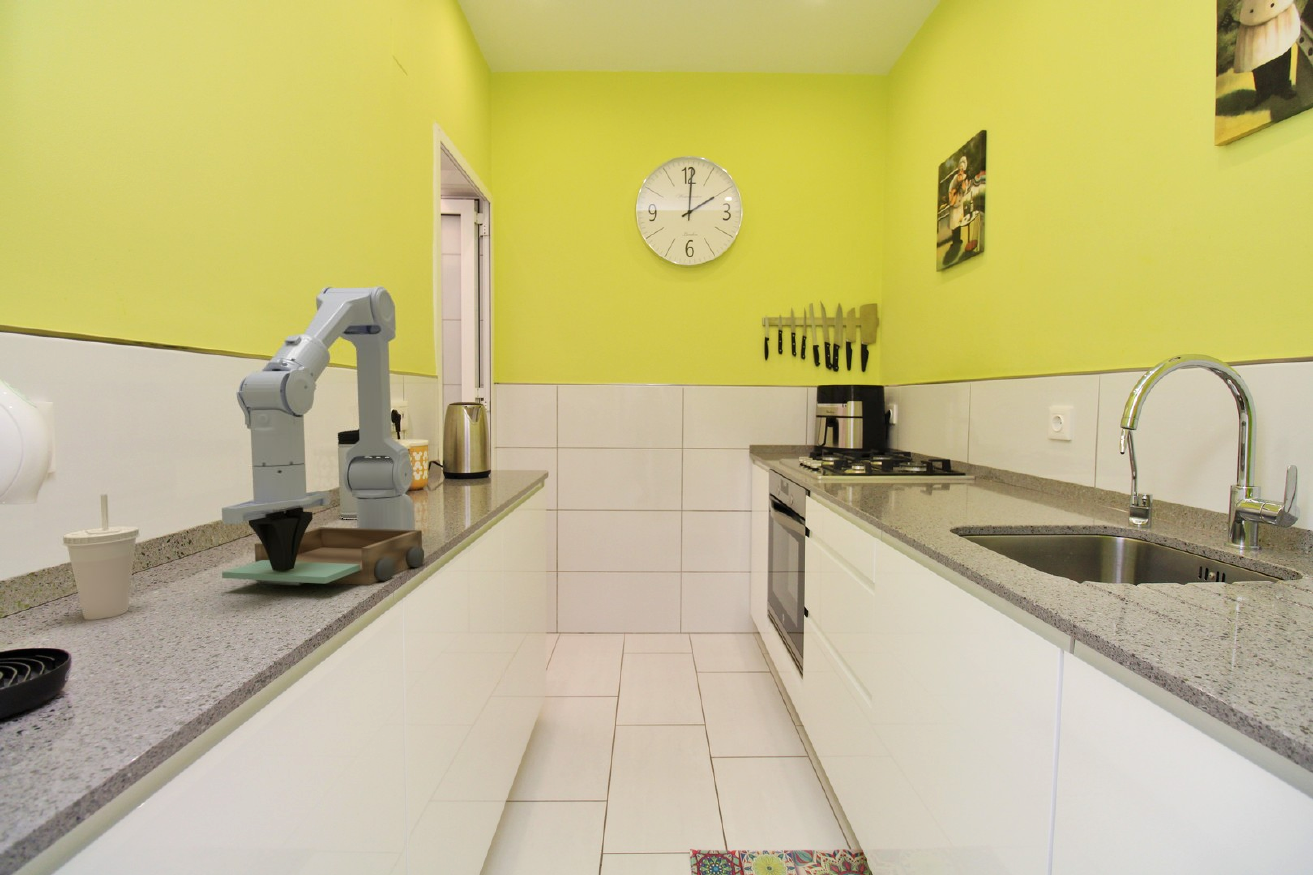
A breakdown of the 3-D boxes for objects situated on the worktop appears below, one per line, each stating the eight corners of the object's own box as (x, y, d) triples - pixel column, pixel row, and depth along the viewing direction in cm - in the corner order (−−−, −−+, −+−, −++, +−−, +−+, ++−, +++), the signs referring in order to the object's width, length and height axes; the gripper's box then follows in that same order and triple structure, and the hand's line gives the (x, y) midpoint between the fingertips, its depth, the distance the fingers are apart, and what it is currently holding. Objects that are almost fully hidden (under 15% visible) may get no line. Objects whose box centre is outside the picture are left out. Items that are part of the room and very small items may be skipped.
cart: (316, 557, 92) (315, 526, 92) (428, 562, 88) (427, 530, 88) (250, 578, 81) (248, 543, 80) (375, 585, 77) (374, 548, 77)
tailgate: (262, 559, 80) (222, 571, 74) (359, 564, 77) (325, 577, 71) (262, 571, 80) (222, 584, 74) (360, 576, 77) (326, 589, 71)
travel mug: (378, 515, 132) (376, 428, 131) (357, 520, 126) (354, 429, 125) (355, 514, 134) (352, 428, 133) (333, 519, 127) (330, 429, 126)
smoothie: (96, 625, 63) (89, 498, 62) (51, 621, 64) (44, 497, 64) (157, 606, 69) (151, 490, 69) (115, 603, 70) (109, 490, 70)
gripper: (255, 470, 66) (260, 587, 66) (347, 460, 80) (350, 556, 80) (205, 469, 67) (210, 584, 68) (303, 459, 81) (307, 554, 82)
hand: (283, 569), depth 74 cm, fingers closed
